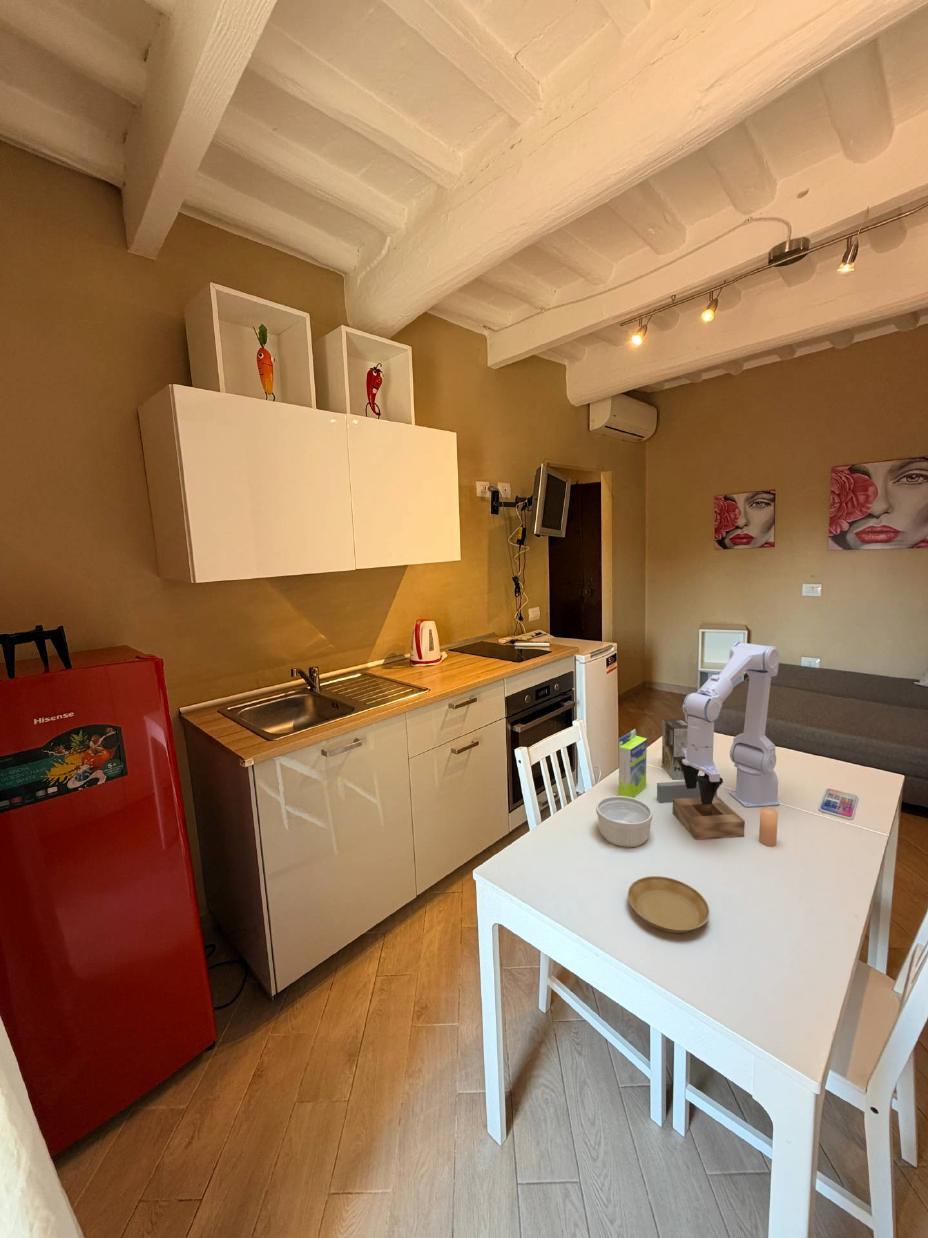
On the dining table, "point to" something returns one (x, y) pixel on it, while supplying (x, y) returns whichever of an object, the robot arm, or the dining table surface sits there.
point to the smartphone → (839, 804)
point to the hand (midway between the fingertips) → (698, 795)
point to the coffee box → (673, 745)
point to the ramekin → (624, 820)
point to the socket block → (708, 818)
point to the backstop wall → (676, 791)
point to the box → (632, 764)
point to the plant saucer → (668, 904)
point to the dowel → (768, 826)
